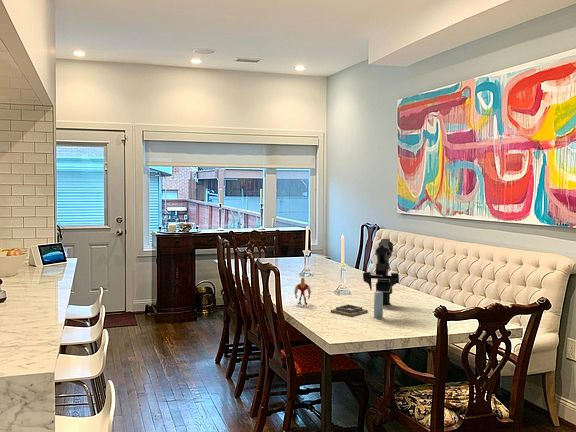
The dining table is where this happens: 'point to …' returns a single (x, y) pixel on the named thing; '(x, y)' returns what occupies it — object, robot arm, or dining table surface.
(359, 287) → the dining table surface
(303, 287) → the action figure
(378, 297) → the pale blue cylinder
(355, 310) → the cradle board
